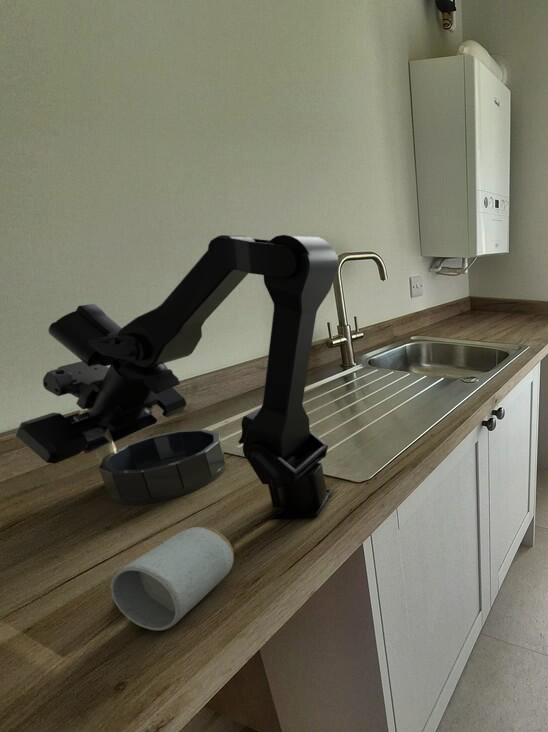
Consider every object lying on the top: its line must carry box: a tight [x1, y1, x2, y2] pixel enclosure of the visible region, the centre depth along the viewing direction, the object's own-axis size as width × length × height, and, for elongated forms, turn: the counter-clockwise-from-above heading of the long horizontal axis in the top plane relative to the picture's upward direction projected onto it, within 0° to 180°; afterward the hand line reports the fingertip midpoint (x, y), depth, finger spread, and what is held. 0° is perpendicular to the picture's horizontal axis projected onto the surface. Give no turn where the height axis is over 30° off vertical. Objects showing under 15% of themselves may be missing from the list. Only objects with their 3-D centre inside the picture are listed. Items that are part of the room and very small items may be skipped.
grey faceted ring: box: [79, 408, 227, 506], centre depth 65 cm, size 17×15×13 cm
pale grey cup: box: [110, 525, 235, 632], centre depth 44 cm, size 11×8×8 cm
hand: (96, 446), depth 65 cm, fingers open, 3 cm apart
